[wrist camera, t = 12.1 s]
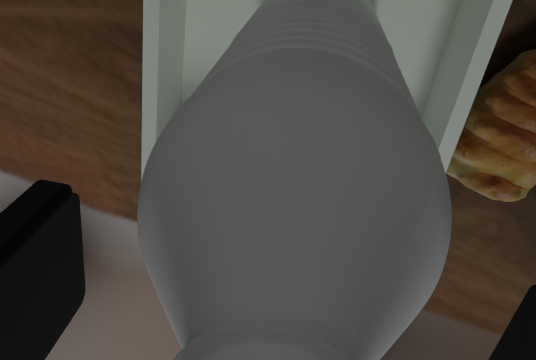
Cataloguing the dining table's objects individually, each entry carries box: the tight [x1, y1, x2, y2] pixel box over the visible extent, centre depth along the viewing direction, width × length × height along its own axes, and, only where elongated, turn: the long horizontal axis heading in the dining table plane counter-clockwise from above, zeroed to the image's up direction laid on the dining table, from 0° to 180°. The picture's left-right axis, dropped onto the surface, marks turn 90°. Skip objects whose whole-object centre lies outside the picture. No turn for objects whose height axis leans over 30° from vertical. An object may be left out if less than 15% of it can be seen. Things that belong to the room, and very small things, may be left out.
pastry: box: [446, 49, 536, 202], centre depth 28 cm, size 9×7×4 cm
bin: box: [141, 0, 512, 181], centre depth 26 cm, size 17×19×6 cm
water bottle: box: [137, 0, 452, 360], centre depth 17 cm, size 9×6×25 cm
